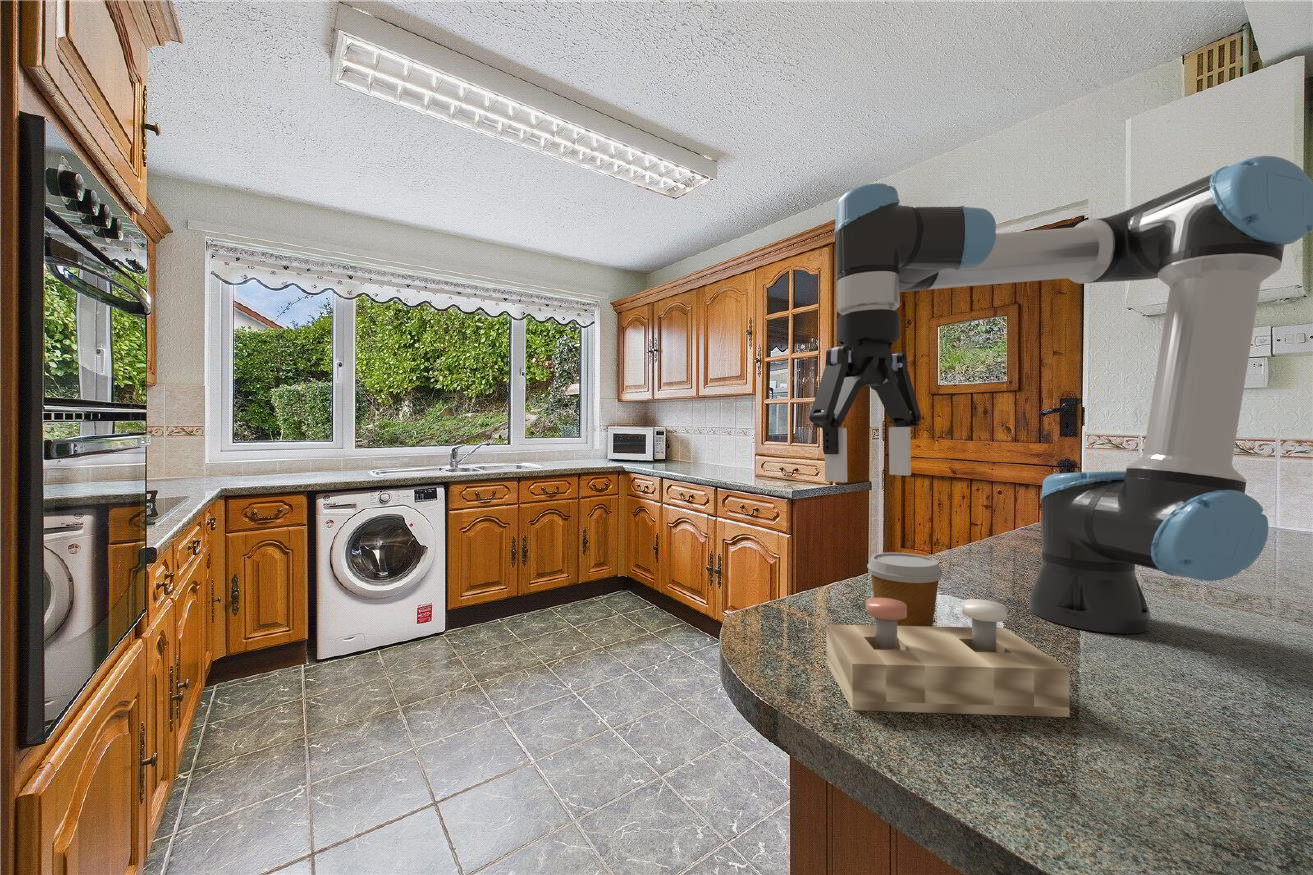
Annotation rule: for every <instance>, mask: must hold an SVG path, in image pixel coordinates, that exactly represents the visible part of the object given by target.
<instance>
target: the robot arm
mask: <svg viewBox="0 0 1313 875" xmlns="http://www.w3.org/2000/svg"><path fill="white" fill-rule="evenodd" d="M1305 172H1306V171H1304V169H1302V168H1301V167H1300V166H1298V165H1297V164H1296V163H1294V162H1293V161H1291V160H1288V159H1285V158H1282V157H1279V156H1274V155H1259V156H1253V157H1250V158H1247V159H1245V160H1242V161H1240V162H1238V163H1237V162H1236V163H1235V164H1231V165H1227V166H1222V167H1221V168H1219V169H1216V170H1215V171H1214V172H1213V173H1210V174H1209V175H1207V176H1205V177H1202V178H1199V179H1197V180H1194V181H1192V182H1190V183H1188V184H1186V185H1183V186H1182V187H1181V186H1180V187H1179V188H1177V189H1174V190H1171V191H1169V192H1166V193H1164V194H1162V195H1160V196H1158V197H1156V198H1153V199H1151V200H1148V201H1146V202H1144V203H1142V204H1139V205H1137V206H1134V207H1132V208H1129V209H1127V210H1125V211H1121V212H1119V213H1116V214H1112V215H1109V216H1105V217H1101V218H1091V219H1086V220H1083V221H1081V222H1079V223H1077V224H1076V225H1075V226H1074V227H1063V228H1062V227H1061V228H1049V229H1038V230H1025V231H1023V230H1022V231H1011V232H998V233H997V232H996V230H997V223H996V220H995V217H994V215H993V214H992V213H991V212H990V211H989V210H988V209H985V208H981V207H970V206H965V205H959V206H909V205H901V204H900V201H901V200H900V199H899V194H898V191H897V189H896V187H895V186H893V185H888V184H886V183H877V182H876V183H869V184H863V185H860V186H856V187H854V188H851V189H850V190H848V191H847V192H845V193H843V195H842V196H841V197H840V198H839V200H838V201H837V203H836V210H835V212H836V213H835V224H834V225H835V227H834V236H835V253H836V255H835V259H836V297H837V298H836V306H837V307H836V311H837V313H839V316H838V318H837V319H836V336H837V337H836V339H837V340H836V341H837V344H838V345H839V346H836V347H830V348H827V349H826V352H825V367H824V369H823V372H822V376H821V379H820V381H819V385H818V387H817V388H818V389H817V391H816V394H815V397H814V401H813V403H812V407H811V410H810V413H809V417H808V418H809V421H810V422H811V423H812V424H813V425H814V427H815V428H816V429H821V430H822V452H823V455H824V481H825V482H835V483H848V433H847V432H848V431H847V430H848V429H847V427H842V425H843V423H844V421H845V419H846V417H847V415H848V414H849V412H850V410H851V408H852V405H853V403H854V401H855V400H856V398H857V396H858V395H859V392H860V391H861V389H862V388H863V387H869V388H871V389H872V390H873V391H875V392H876V393H877V396H878V398H879V400H880V402H881V404H882V406H883V408H884V410H885V412H886V414H887V416H888V418H889V419H890V422H891V423H892V425H893V426H890V427H888V458H889V459H888V467H889V468H888V469H889V470H888V471H889V475H890V476H891V475H892V476H911V475H912V461H911V460H912V452H911V451H912V450H911V447H912V446H911V445H912V444H911V443H912V440H911V439H912V438H911V437H912V436H911V429H912V427H919V425H920V421H921V420H922V413H921V410H920V407H919V403H918V400H917V396H916V393H915V389H914V386H913V382H912V380H911V376H910V372H909V369H908V356H907V354H906V352H899V353H892V348H891V347H892V345H893V344H894V343H896V342H898V341H899V339H900V338H901V335H900V334H901V331H900V329H901V328H900V327H901V325H900V314H899V313H898V311H896V310H897V309H898V308H899V307H900V306H901V302H900V298H901V297H900V293H903V292H904V293H906V292H915V291H923V290H924V291H925V290H938V289H949V288H951V289H952V288H961V287H962V288H963V287H973V286H986V285H996V284H997V285H998V284H1000V285H1001V284H1010V283H1011V284H1013V283H1022V282H1023V283H1024V282H1037V281H1048V280H1060V279H1061V280H1062V279H1068V280H1070V281H1071V282H1073V283H1076V284H1092V283H1096V284H1097V283H1110V282H1132V281H1133V282H1134V281H1142V280H1143V281H1144V280H1153V279H1158V280H1160V281H1161V282H1163V283H1164V284H1165V285H1166V286H1168V287H1169V290H1168V297H1167V302H1166V310H1165V317H1164V323H1163V329H1162V336H1161V342H1160V349H1159V355H1158V358H1157V359H1158V360H1157V366H1156V373H1155V379H1154V380H1155V381H1154V385H1153V390H1152V391H1153V392H1152V396H1151V397H1152V398H1151V403H1150V411H1149V417H1148V422H1147V428H1146V436H1145V442H1144V446H1143V453H1142V456H1141V457H1140V458H1138V459H1137V460H1136V461H1134V462H1132V463H1130V464H1128V465H1127V466H1126V470H1125V471H1124V470H1119V471H1118V470H1116V471H1112V470H1111V471H1110V470H1107V471H1086V472H1085V471H1083V472H1064V473H1062V472H1061V473H1053V474H1049V475H1047V476H1046V477H1045V478H1043V481H1042V488H1041V496H1040V503H1041V504H1040V506H1041V509H1040V511H1041V565H1040V568H1039V570H1038V573H1037V575H1036V578H1035V580H1034V583H1033V585H1032V588H1031V591H1030V593H1029V596H1028V608H1029V611H1030V612H1031V613H1033V615H1036V616H1037V617H1039V618H1042V619H1044V620H1047V621H1049V622H1052V623H1056V624H1058V625H1063V626H1066V627H1069V628H1074V629H1075V628H1076V629H1079V630H1084V631H1085V630H1086V631H1091V632H1098V633H1107V634H1110V633H1111V634H1123V635H1124V634H1125V635H1126V634H1127V635H1128V634H1130V635H1132V634H1141V633H1145V632H1148V631H1150V630H1151V625H1152V624H1151V622H1152V620H1151V618H1152V617H1151V611H1150V609H1149V607H1148V605H1147V601H1146V599H1145V596H1144V593H1143V591H1142V588H1141V586H1140V584H1139V581H1138V578H1137V575H1136V566H1140V567H1144V568H1147V569H1151V570H1155V571H1158V572H1162V573H1165V574H1166V575H1168V576H1176V577H1180V578H1189V579H1193V580H1198V581H1207V582H1211V581H1212V582H1213V581H1214V582H1215V581H1216V582H1217V581H1223V580H1227V579H1229V578H1233V577H1235V576H1237V575H1239V573H1241V572H1242V571H1243V570H1244V571H1245V570H1246V569H1248V568H1250V567H1251V566H1252V565H1253V564H1254V562H1256V560H1257V559H1259V557H1260V555H1261V554H1262V552H1263V551H1264V548H1265V546H1266V543H1267V541H1268V536H1269V519H1268V517H1267V515H1266V514H1263V511H1264V508H1263V506H1262V505H1261V503H1259V502H1258V501H1257V500H1256V499H1255V498H1253V497H1251V496H1250V495H1248V494H1246V486H1247V479H1246V478H1245V477H1244V476H1243V475H1242V474H1241V473H1239V472H1238V471H1237V470H1236V469H1235V468H1234V465H1233V458H1234V453H1235V448H1236V447H1235V445H1236V440H1237V433H1238V428H1239V422H1240V415H1241V414H1240V413H1241V409H1242V403H1243V397H1244V389H1245V384H1246V377H1247V371H1248V364H1249V358H1250V352H1251V347H1252V340H1253V333H1254V326H1255V320H1256V314H1257V307H1258V304H1259V303H1258V301H1259V295H1260V290H1261V283H1262V282H1264V281H1265V280H1266V279H1268V278H1269V277H1271V276H1272V275H1274V274H1275V273H1277V272H1279V271H1280V269H1281V267H1282V264H1283V257H1284V256H1283V255H1284V251H1285V245H1291V244H1294V243H1296V242H1297V241H1298V240H1301V239H1302V238H1304V237H1306V236H1307V235H1308V233H1309V232H1311V231H1312V230H1313V181H1312V178H1310V177H1309V176H1308V175H1307V174H1306V173H1305ZM822 411H823V412H822Z"/></svg>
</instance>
